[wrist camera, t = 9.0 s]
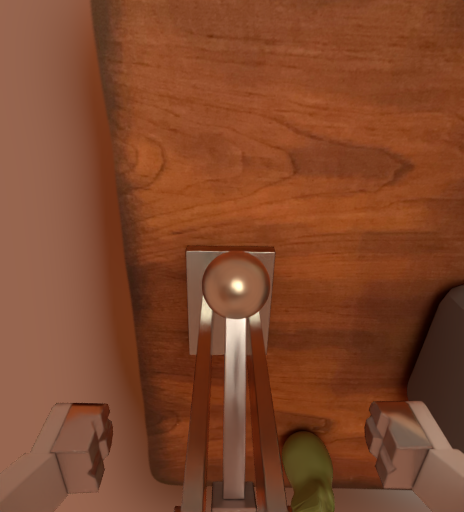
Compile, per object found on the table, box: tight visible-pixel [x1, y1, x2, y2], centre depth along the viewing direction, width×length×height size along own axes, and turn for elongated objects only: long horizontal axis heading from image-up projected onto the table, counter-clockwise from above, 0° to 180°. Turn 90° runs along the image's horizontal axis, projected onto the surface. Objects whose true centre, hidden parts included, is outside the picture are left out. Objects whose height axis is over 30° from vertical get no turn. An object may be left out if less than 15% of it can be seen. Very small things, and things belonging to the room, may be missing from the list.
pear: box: [282, 431, 335, 512], centre depth 41 cm, size 6×5×10 cm
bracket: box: [174, 245, 293, 512], centre depth 27 cm, size 12×8×22 cm, turn 179°
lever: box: [202, 251, 270, 512], centre depth 19 cm, size 15×4×4 cm, turn 179°
